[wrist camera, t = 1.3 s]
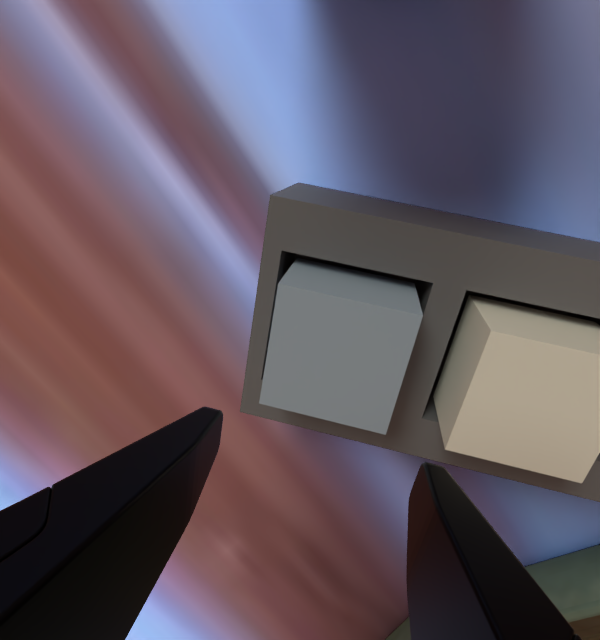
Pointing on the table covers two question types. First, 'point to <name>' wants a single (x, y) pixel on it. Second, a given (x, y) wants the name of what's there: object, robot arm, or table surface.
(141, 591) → the robot arm
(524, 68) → the table surface
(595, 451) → the white key
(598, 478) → the keypad
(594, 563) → the tea set
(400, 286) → the slate blue key
